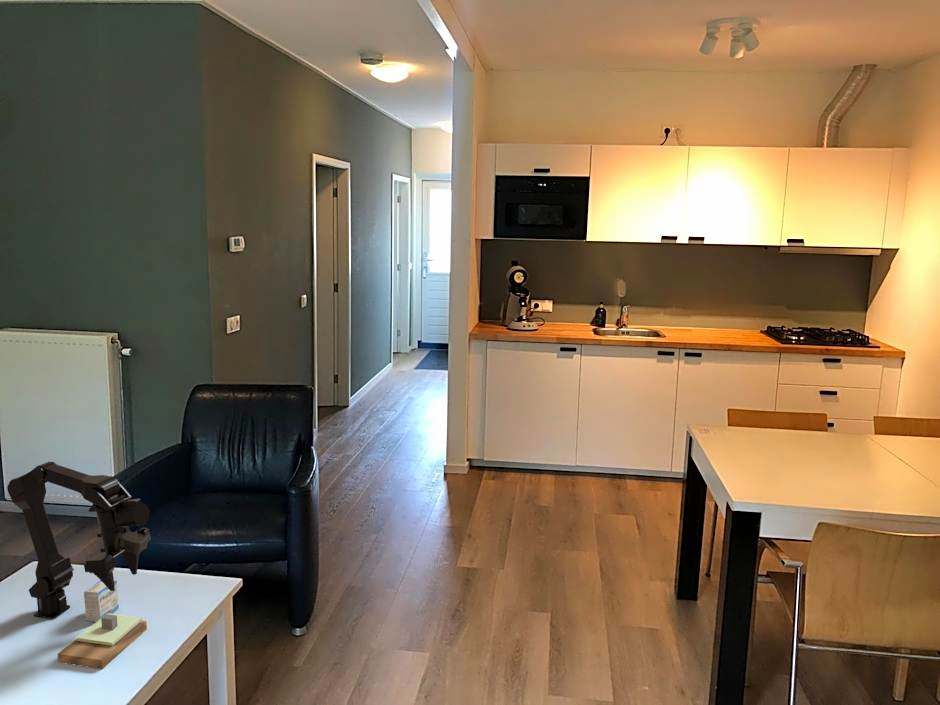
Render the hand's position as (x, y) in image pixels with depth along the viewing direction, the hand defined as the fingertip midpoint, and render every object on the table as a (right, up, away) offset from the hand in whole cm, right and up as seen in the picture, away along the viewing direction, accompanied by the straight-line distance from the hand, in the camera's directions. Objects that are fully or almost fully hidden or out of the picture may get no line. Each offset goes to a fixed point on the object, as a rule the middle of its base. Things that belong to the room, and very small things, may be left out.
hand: (123, 582), depth 198 cm
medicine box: (-10, -12, +8) cm, 17 cm away
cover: (-2, -11, -4) cm, 12 cm away
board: (-2, -14, -6) cm, 16 cm away
